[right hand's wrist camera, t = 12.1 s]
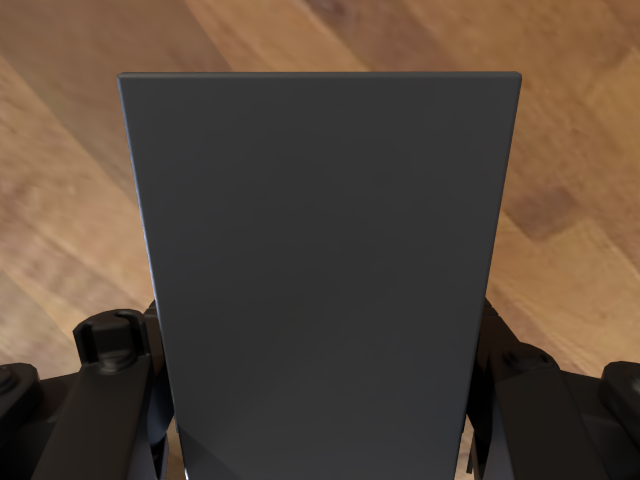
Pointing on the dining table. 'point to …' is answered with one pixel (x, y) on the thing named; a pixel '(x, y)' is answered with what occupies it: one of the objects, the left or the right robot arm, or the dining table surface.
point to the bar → (319, 261)
